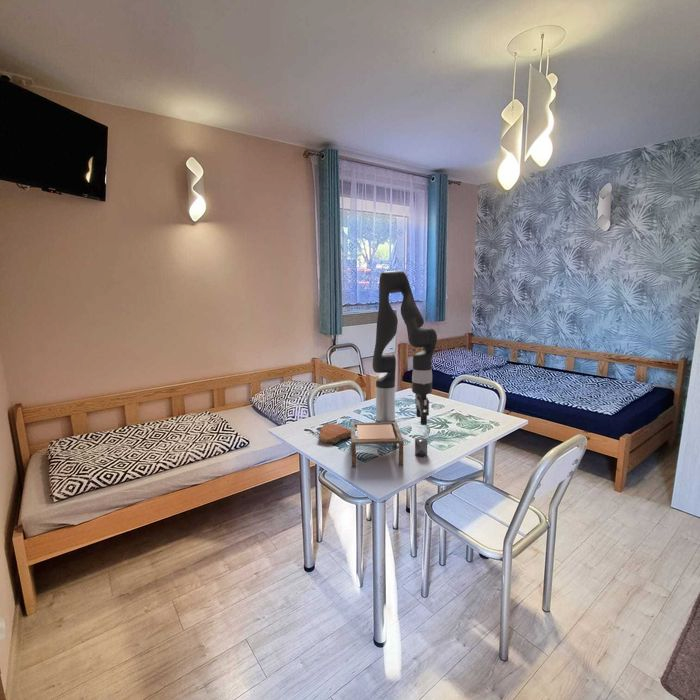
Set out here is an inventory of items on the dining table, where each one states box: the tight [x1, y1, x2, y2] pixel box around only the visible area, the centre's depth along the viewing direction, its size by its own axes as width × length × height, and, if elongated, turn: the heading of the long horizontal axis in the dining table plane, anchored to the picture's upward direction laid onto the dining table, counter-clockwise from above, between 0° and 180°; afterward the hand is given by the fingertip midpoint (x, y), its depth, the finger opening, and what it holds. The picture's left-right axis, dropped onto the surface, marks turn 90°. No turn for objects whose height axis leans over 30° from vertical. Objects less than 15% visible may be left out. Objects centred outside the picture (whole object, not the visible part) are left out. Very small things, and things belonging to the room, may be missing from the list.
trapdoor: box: [356, 424, 396, 440], centre depth 150 cm, size 14×14×1 cm
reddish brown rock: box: [318, 423, 351, 445], centre depth 170 cm, size 15×6×15 cm
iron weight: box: [414, 437, 428, 458], centre depth 151 cm, size 5×5×6 cm
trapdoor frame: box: [350, 421, 404, 468], centre depth 151 cm, size 19×19×10 cm
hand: (421, 420), depth 149 cm, fingers open, 8 cm apart
